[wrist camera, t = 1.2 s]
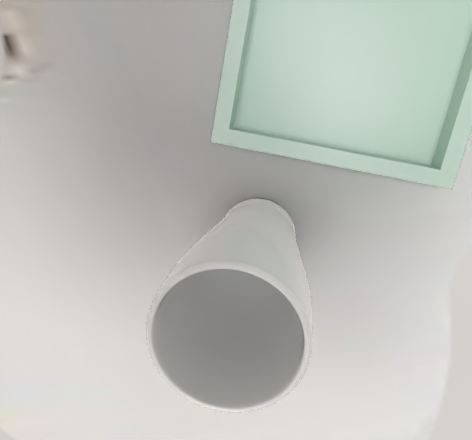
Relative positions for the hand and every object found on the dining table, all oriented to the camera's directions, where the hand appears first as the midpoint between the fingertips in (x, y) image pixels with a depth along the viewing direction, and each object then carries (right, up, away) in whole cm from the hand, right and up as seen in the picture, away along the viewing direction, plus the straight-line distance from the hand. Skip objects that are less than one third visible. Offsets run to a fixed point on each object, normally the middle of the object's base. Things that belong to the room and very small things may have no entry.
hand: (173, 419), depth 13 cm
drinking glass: (+3, +5, +19) cm, 20 cm away
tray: (+9, +18, +15) cm, 25 cm away
